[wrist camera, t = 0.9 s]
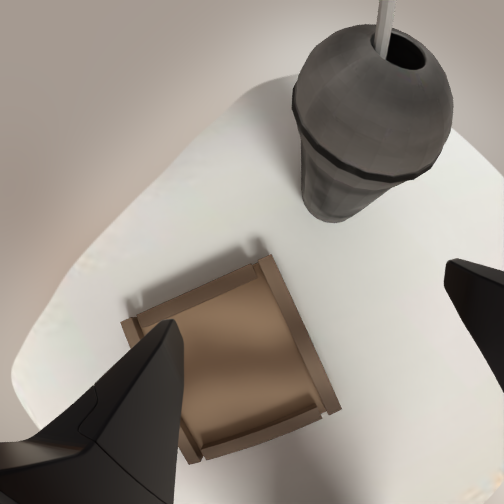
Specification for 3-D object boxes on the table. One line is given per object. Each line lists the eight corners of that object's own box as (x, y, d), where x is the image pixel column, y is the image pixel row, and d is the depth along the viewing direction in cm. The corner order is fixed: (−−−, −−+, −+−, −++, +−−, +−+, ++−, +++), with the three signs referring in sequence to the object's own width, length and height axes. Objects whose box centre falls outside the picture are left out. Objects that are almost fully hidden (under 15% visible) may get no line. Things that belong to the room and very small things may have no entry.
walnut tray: (337, 402, 20) (342, 409, 19) (193, 456, 20) (189, 464, 19) (271, 257, 23) (271, 254, 21) (129, 321, 23) (120, 322, 21)
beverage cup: (367, 252, 22) (588, 96, 3) (273, 227, 23) (269, -47, 3) (380, 166, 23) (506, -35, 4) (294, 144, 24) (315, -104, 4)
